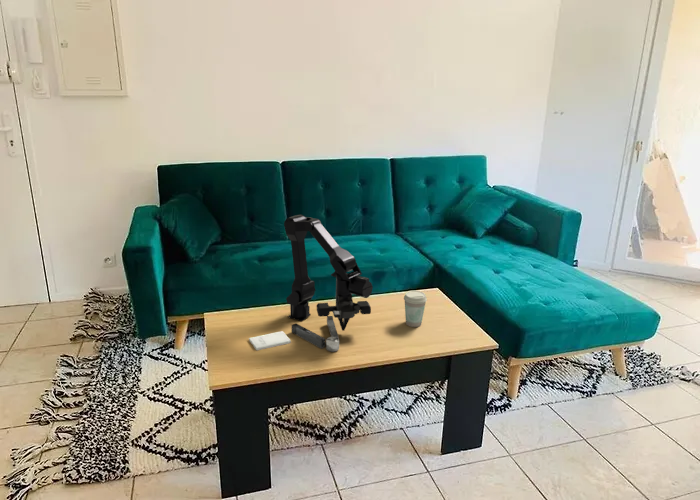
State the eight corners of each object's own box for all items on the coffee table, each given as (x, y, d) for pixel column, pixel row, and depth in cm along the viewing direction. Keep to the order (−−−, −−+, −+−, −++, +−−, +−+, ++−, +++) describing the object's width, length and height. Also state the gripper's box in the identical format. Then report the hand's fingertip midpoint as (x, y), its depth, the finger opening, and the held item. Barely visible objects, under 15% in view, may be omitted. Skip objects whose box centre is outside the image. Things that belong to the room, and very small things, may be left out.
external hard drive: (290, 344, 183) (256, 352, 178) (282, 334, 190) (248, 341, 185) (290, 340, 183) (256, 347, 177) (282, 330, 190) (248, 337, 184)
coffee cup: (399, 326, 198) (401, 296, 194) (405, 317, 205) (407, 288, 201) (421, 330, 195) (423, 300, 191) (427, 321, 202) (429, 292, 198)
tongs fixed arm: (325, 346, 181) (325, 338, 180) (321, 348, 180) (321, 340, 179) (295, 330, 192) (295, 322, 191) (291, 332, 191) (291, 324, 190)
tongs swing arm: (340, 351, 178) (341, 342, 177) (326, 351, 177) (327, 343, 176) (332, 323, 197) (332, 315, 196) (319, 323, 197) (319, 316, 196)
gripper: (320, 300, 176) (320, 342, 181) (375, 298, 179) (373, 339, 184) (316, 287, 187) (316, 327, 192) (368, 285, 190) (366, 324, 195)
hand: (343, 330), depth 190 cm, fingers closed
